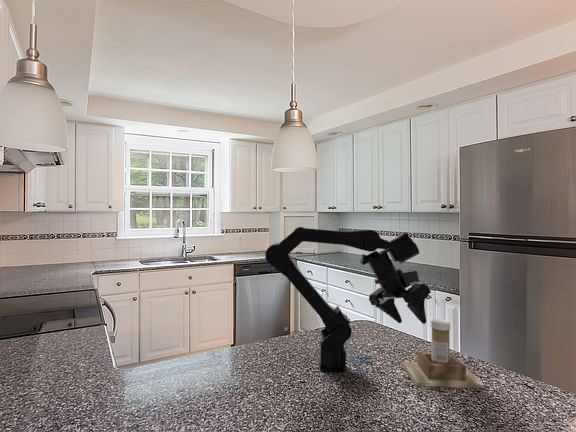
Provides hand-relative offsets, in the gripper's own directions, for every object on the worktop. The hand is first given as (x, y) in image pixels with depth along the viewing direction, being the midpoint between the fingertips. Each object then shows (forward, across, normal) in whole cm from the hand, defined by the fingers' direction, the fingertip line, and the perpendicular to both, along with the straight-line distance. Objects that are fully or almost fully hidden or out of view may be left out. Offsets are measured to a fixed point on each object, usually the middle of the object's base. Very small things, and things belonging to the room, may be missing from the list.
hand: (412, 322), depth 98 cm
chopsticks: (+6, +15, +11) cm, 20 cm away
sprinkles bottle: (+13, -3, +2) cm, 14 cm away
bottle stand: (+14, -3, +2) cm, 14 cm away
